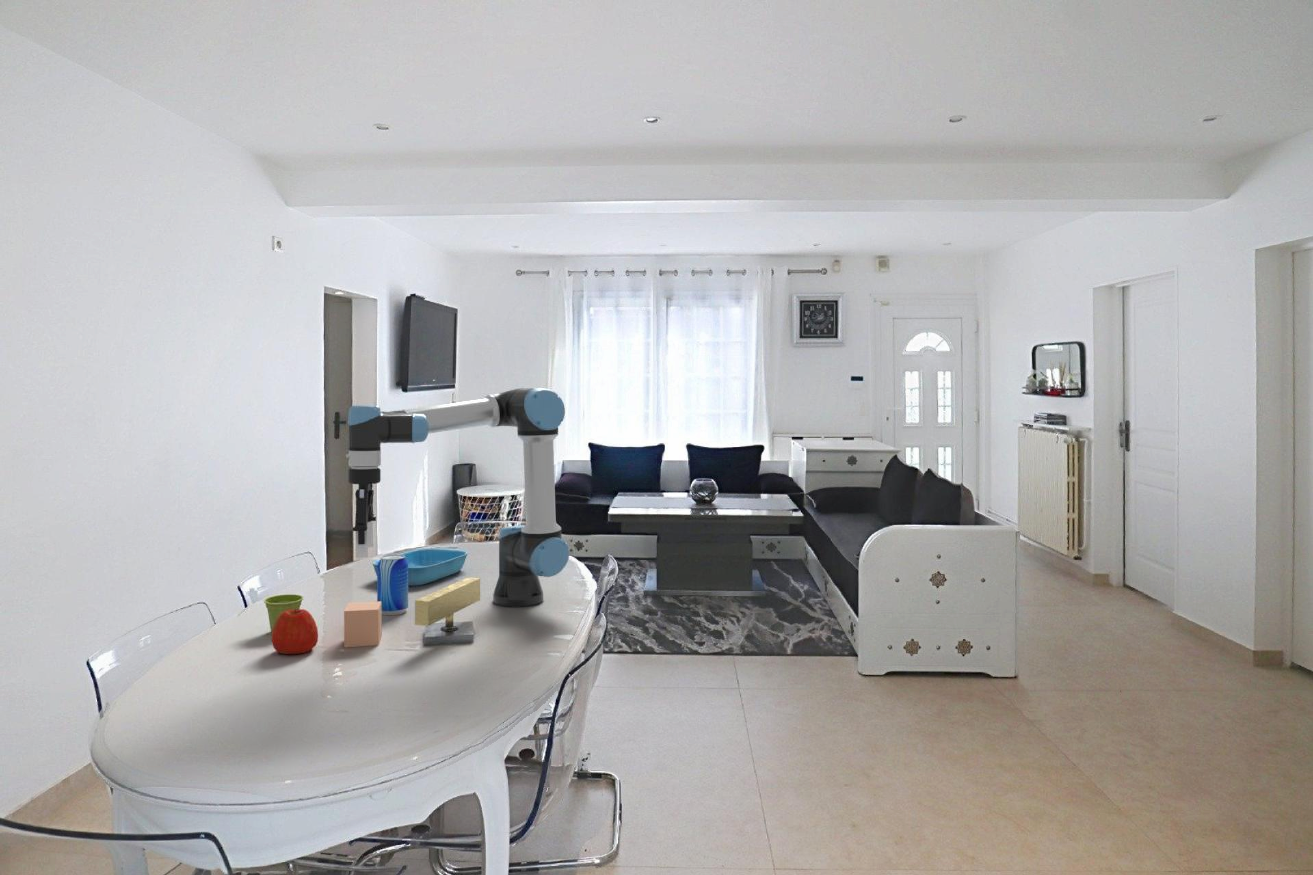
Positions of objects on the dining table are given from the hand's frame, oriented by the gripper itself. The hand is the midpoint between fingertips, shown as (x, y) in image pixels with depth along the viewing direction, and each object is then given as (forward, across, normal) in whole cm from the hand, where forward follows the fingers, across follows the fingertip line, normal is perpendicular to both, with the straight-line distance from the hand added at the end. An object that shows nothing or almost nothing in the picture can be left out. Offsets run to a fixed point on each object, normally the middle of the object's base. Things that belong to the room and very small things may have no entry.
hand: (364, 552), depth 199 cm
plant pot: (+23, -14, -21) cm, 34 cm away
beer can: (+23, -27, +5) cm, 36 cm away
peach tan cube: (+23, 0, 0) cm, 23 cm away
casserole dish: (+23, -73, +12) cm, 77 cm away
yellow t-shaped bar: (+20, 0, +21) cm, 29 cm away
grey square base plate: (+23, 0, +21) cm, 31 cm away
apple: (+23, +4, -16) cm, 28 cm away
